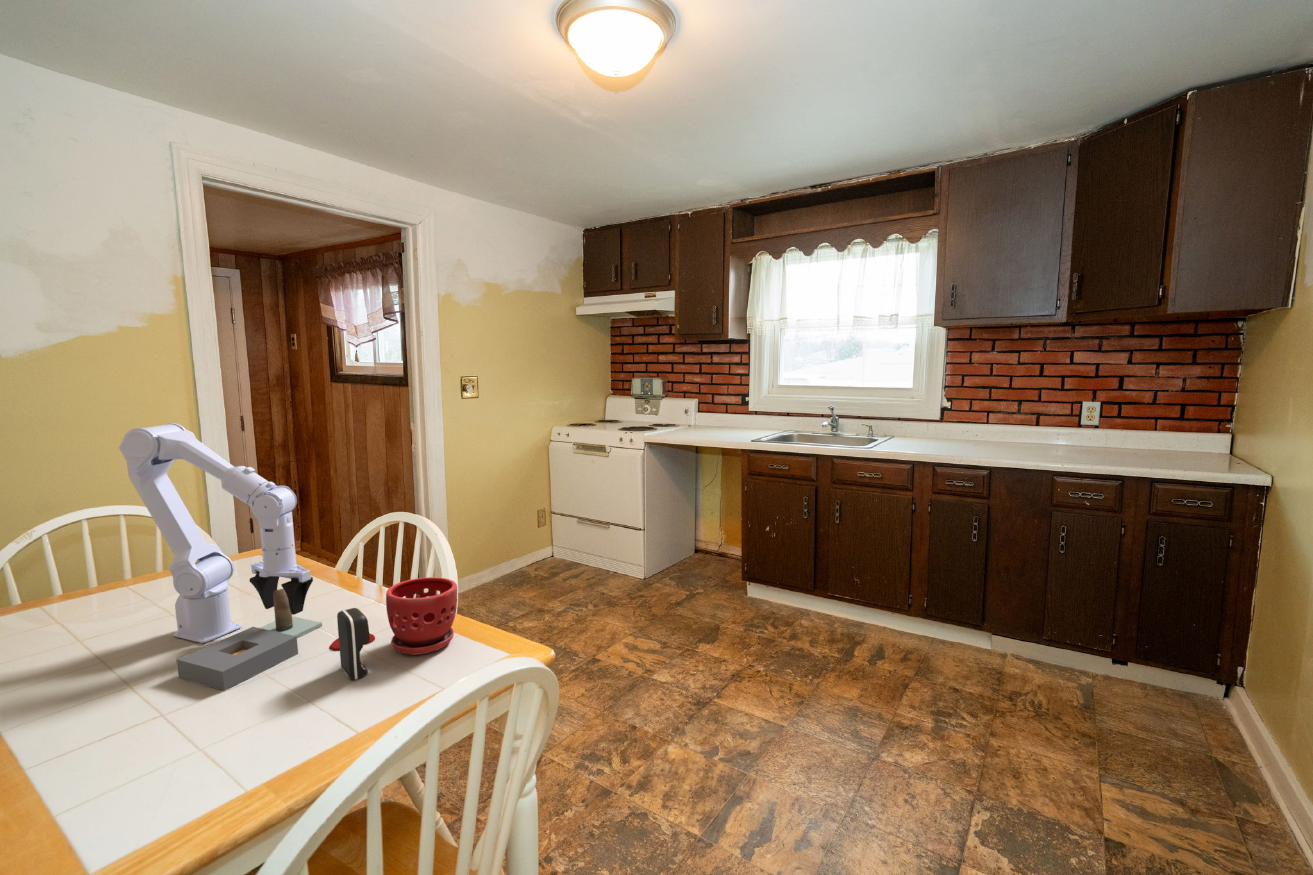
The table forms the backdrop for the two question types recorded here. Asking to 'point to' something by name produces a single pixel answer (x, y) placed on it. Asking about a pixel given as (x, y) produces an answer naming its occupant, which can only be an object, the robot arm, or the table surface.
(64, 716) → the table surface
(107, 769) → the table surface
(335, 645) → the lollipop
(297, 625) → the pad
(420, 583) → the plant pot
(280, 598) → the brown cylinder
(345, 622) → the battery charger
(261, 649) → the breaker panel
